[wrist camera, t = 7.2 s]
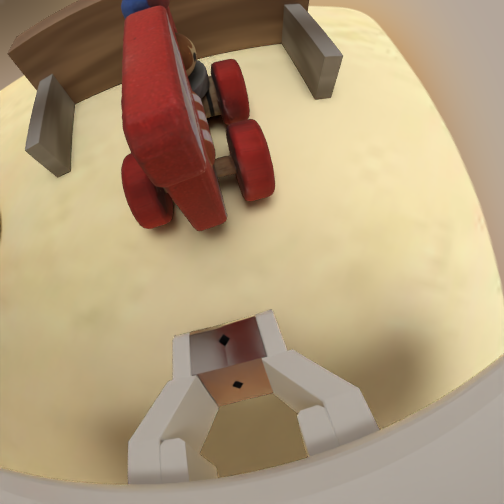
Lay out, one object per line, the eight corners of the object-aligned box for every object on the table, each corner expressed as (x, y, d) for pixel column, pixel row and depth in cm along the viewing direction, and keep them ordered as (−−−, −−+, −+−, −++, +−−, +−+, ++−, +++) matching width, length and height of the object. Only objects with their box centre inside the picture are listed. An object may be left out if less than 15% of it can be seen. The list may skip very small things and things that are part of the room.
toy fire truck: (231, 73, 18) (218, -52, 8) (282, 232, 16) (318, 95, 6) (138, 98, 18) (85, -14, 8) (156, 264, 15) (26, 182, 5)
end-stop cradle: (339, 96, 18) (368, 4, 10) (50, 181, 17) (-21, 123, 9) (293, 26, 20) (299, -48, 12) (59, 95, 19) (16, 36, 11)
